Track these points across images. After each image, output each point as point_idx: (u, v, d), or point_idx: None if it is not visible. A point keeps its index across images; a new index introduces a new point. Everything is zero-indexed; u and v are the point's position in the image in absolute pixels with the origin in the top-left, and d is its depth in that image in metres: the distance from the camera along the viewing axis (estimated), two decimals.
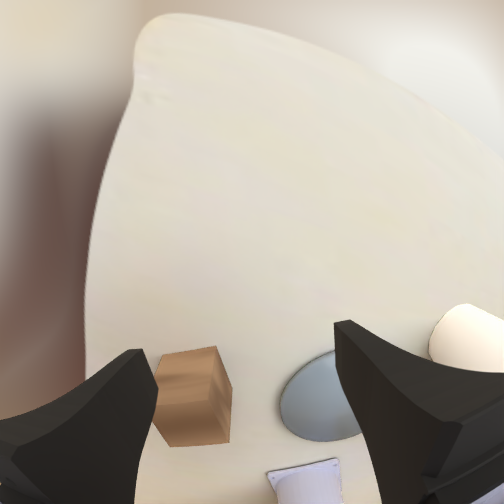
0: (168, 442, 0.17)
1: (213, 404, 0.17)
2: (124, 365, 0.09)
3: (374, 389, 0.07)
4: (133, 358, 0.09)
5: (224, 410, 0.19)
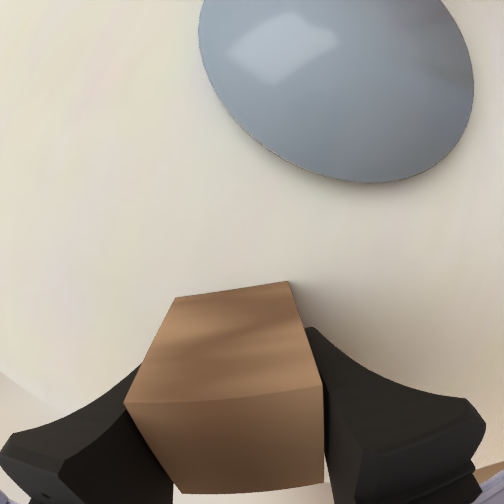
0: (305, 484, 0.07)
1: (164, 387, 0.06)
2: None
3: (324, 401, 0.07)
4: None
5: (251, 346, 0.07)
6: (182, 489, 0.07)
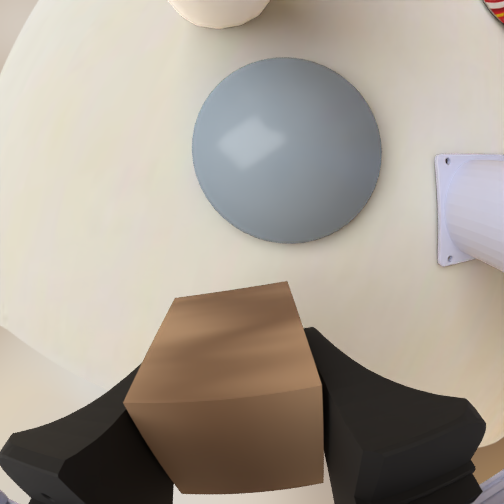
0: (304, 484, 0.07)
1: (163, 388, 0.06)
2: None
3: (324, 401, 0.07)
4: None
5: (251, 346, 0.08)
6: (182, 489, 0.07)
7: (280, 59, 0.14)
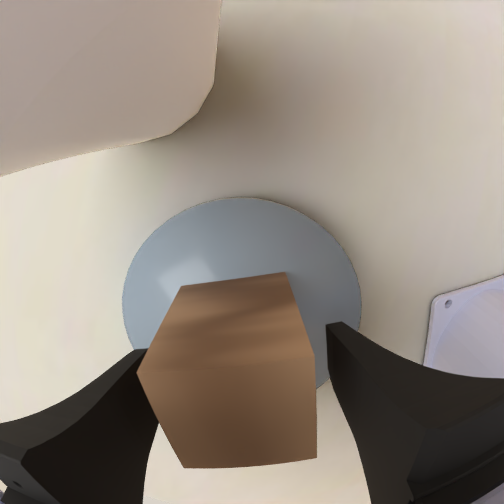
0: (299, 458, 0.08)
1: (173, 359, 0.07)
2: (132, 365, 0.09)
3: (363, 392, 0.07)
4: (141, 357, 0.09)
5: (252, 325, 0.09)
6: (184, 463, 0.08)
7: (223, 203, 0.12)
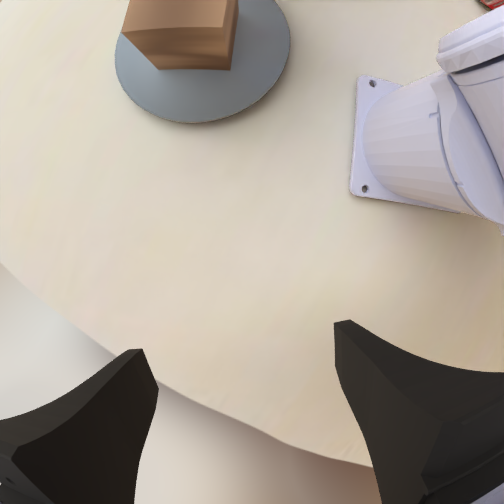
0: (208, 24, 0.09)
1: None
2: (124, 365, 0.09)
3: (374, 389, 0.07)
4: (133, 358, 0.09)
5: None
6: (125, 25, 0.09)
7: None
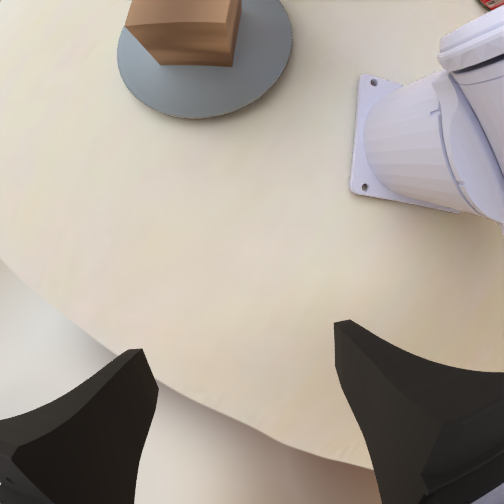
0: (212, 20, 0.09)
1: None
2: (124, 365, 0.09)
3: (374, 389, 0.07)
4: (133, 358, 0.09)
5: None
6: (128, 19, 0.09)
7: None
